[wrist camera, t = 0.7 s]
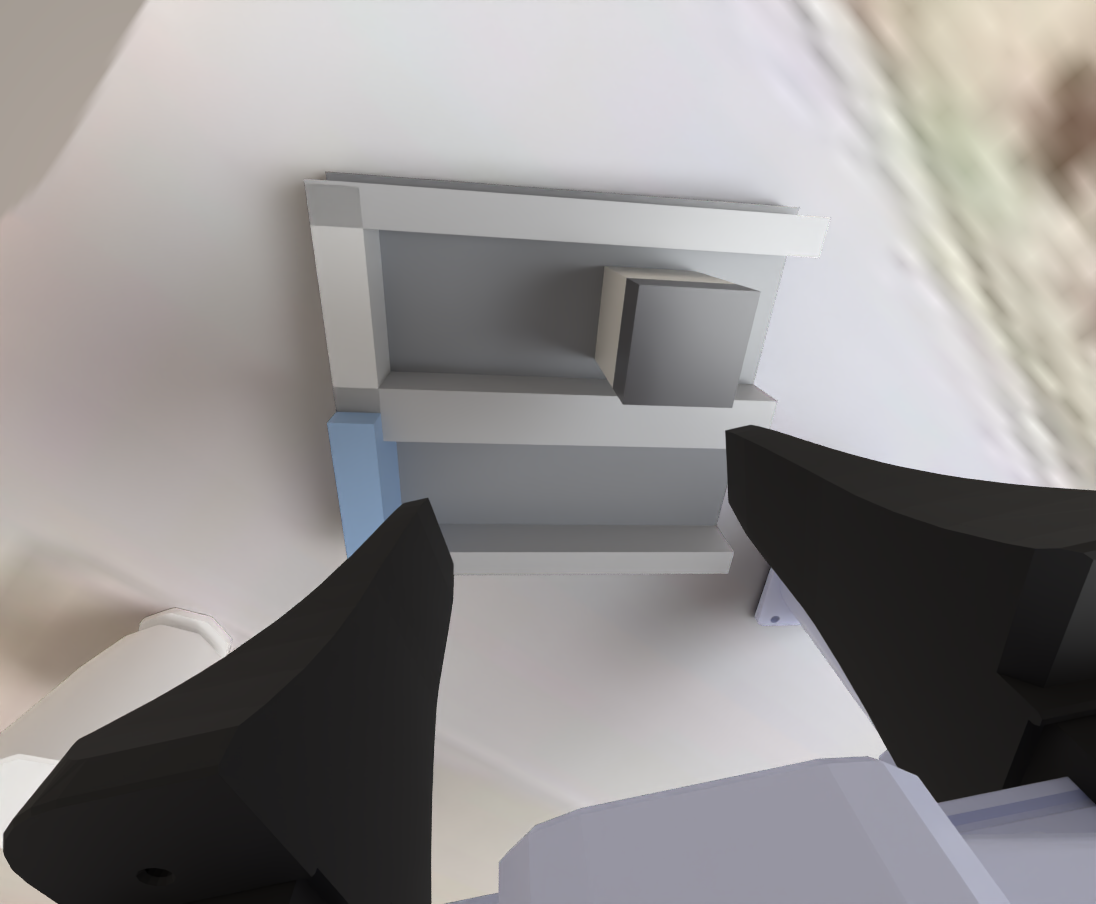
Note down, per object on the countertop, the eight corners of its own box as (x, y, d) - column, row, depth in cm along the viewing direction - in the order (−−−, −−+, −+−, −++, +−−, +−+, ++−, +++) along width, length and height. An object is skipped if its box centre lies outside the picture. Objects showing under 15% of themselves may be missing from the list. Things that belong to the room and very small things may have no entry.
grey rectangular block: (695, 271, 18) (760, 291, 13) (679, 362, 19) (732, 407, 15) (604, 265, 17) (639, 284, 13) (594, 359, 19) (622, 404, 14)
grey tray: (784, 207, 18) (855, 206, 14) (702, 538, 24) (736, 594, 21) (335, 173, 16) (288, 163, 13) (376, 537, 23) (353, 598, 19)
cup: (159, 562, 23) (-3, 727, 15) (335, 666, 26) (272, 836, 19) (80, 641, 24) (-99, 823, 17) (256, 727, 28) (171, 906, 21)
